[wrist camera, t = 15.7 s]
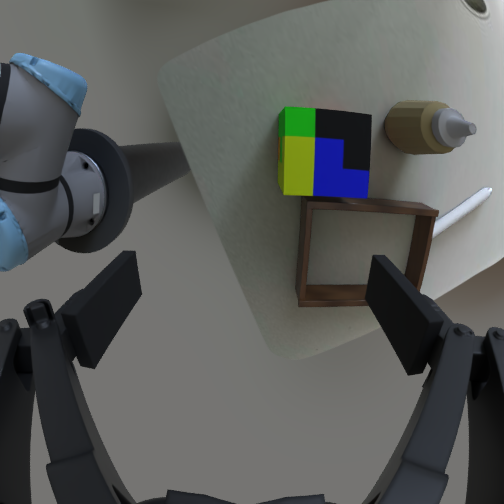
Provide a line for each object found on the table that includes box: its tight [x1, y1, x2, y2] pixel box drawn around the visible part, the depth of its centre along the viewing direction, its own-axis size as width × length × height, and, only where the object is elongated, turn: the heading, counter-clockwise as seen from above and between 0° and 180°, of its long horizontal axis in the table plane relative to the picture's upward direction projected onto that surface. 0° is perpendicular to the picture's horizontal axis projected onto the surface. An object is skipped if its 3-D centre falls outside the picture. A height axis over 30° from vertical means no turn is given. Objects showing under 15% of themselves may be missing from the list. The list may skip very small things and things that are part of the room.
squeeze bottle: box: [384, 100, 477, 155], centre depth 30 cm, size 8×8×18 cm
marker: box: [432, 188, 492, 238], centre depth 41 cm, size 18×2×2 cm, turn 123°
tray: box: [295, 195, 439, 307], centre depth 43 cm, size 21×16×6 cm
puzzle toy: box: [278, 107, 372, 199], centre depth 35 cm, size 10×10×10 cm
